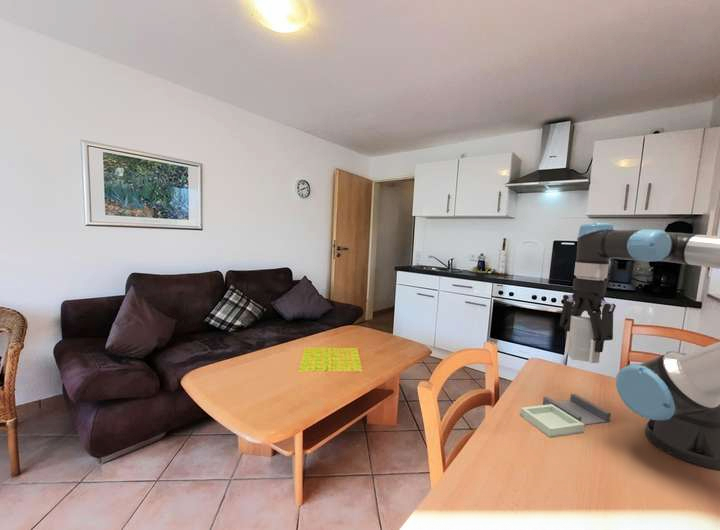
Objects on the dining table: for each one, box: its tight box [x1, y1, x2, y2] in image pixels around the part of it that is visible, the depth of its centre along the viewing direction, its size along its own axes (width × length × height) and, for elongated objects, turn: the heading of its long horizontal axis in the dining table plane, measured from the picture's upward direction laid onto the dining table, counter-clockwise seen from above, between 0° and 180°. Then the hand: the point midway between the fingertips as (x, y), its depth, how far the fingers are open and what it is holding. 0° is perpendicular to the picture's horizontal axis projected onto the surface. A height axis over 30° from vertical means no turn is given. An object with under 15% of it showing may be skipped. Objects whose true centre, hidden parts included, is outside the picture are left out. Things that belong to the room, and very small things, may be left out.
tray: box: [519, 404, 585, 438], centre depth 84 cm, size 10×11×2 cm
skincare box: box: [567, 316, 594, 363], centre depth 88 cm, size 6×4×12 cm
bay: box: [542, 393, 612, 426], centre depth 90 cm, size 11×12×2 cm
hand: (581, 357), depth 89 cm, fingers closed on skincare box, 7 cm apart
